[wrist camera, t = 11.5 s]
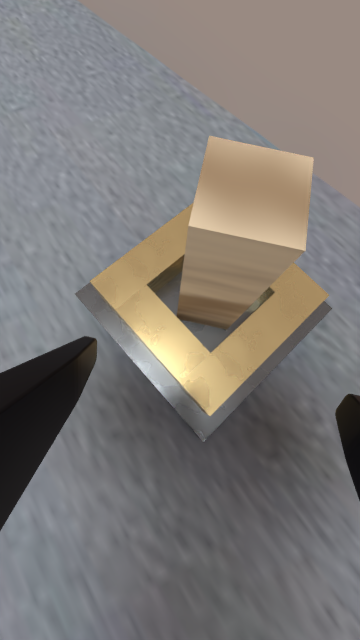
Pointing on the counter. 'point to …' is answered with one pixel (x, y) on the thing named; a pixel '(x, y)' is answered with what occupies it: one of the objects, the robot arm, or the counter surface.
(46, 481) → the counter surface
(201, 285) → the pin
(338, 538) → the counter surface
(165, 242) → the socket
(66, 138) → the counter surface
